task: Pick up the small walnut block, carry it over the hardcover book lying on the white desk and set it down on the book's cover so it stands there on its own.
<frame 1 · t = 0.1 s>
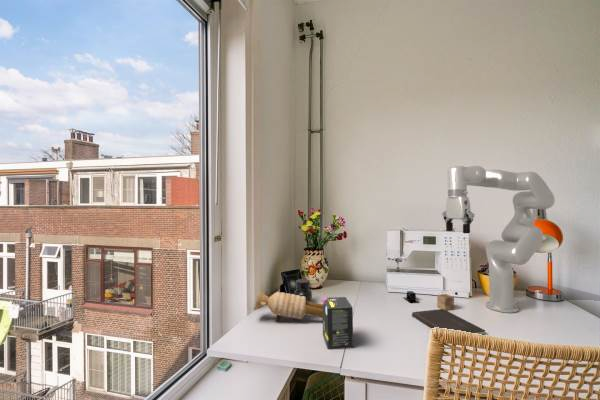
hand: (457, 232, 132), 37 cm above the table, tool pointing down, fingers open, 9 cm apart
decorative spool: (291, 321, 127), on the table
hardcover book: (445, 326, 121), on the table
ink bottle: (303, 305, 146), on the table
tampon box: (337, 342, 108), on the table
walnut block: (445, 308, 139), on the table
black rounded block: (411, 301, 151), on the table
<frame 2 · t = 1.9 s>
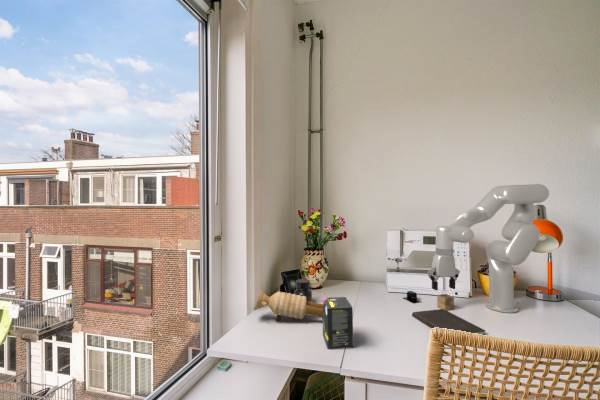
hand: (443, 288, 139), 9 cm above the table, tool pointing down, fingers open, 9 cm apart
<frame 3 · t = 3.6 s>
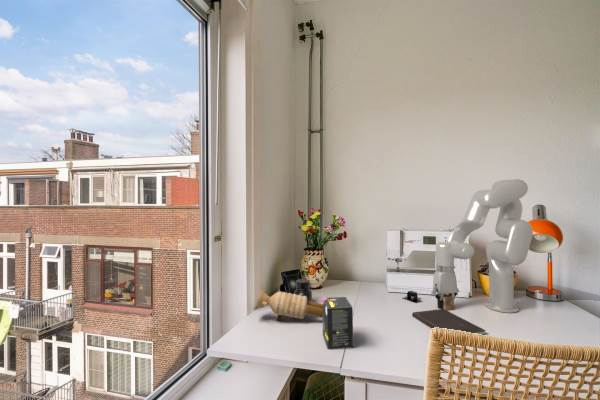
hand: (445, 307, 139), 1 cm above the table, tool pointing down, fingers closed on walnut block, 5 cm apart
walnut block: (445, 308, 139), on the table, touching gripper
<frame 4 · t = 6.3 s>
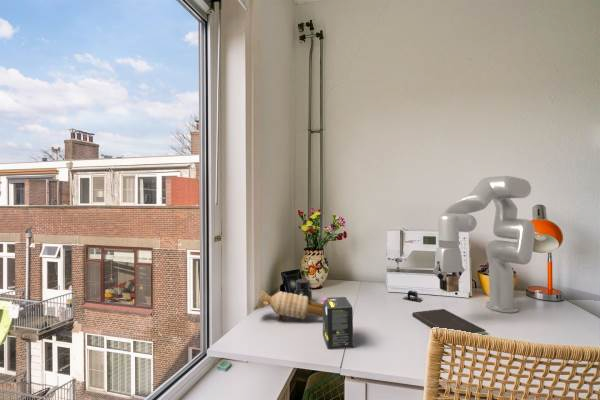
hand: (449, 288, 121), 15 cm above the table, tool pointing down, fingers closed on walnut block, 5 cm apart
walnut block: (449, 290, 121), point 14 cm above the table, touching gripper
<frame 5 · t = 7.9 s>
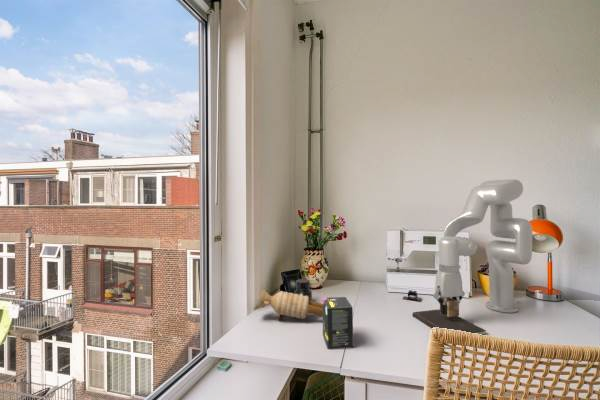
hand: (449, 312, 121), 5 cm above the table, tool pointing down, fingers closed on walnut block, 5 cm apart
walnut block: (449, 314, 121), point 4 cm above the table, touching gripper
when the fingers open (4 cm above the table, at t = 8.9 s): walnut block drops 2 cm, resting on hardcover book.
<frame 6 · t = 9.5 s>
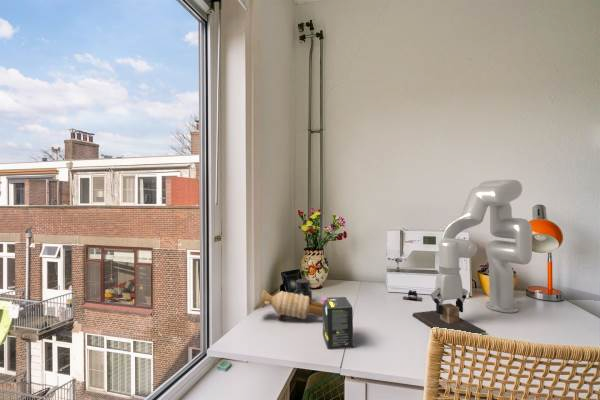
hand: (449, 312, 121), 5 cm above the table, tool pointing down, fingers open, 9 cm apart
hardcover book: (446, 327, 121), on the table, touching walnut block
walnut block: (449, 320, 121), point 1 cm above the table, touching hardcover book
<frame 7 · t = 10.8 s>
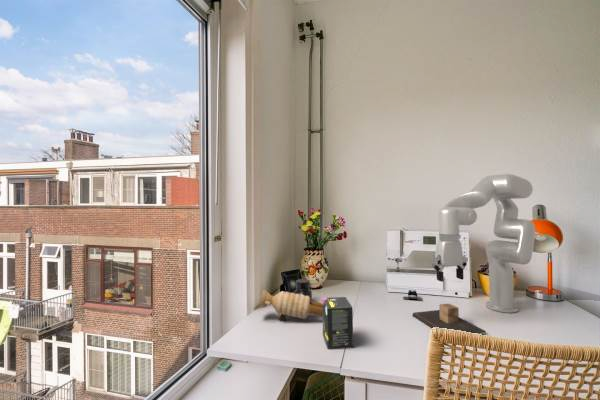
hand: (450, 279, 121), 18 cm above the table, tool pointing down, fingers open, 9 cm apart
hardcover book: (446, 327, 121), on the table
walnut block: (449, 320, 121), point 1 cm above the table
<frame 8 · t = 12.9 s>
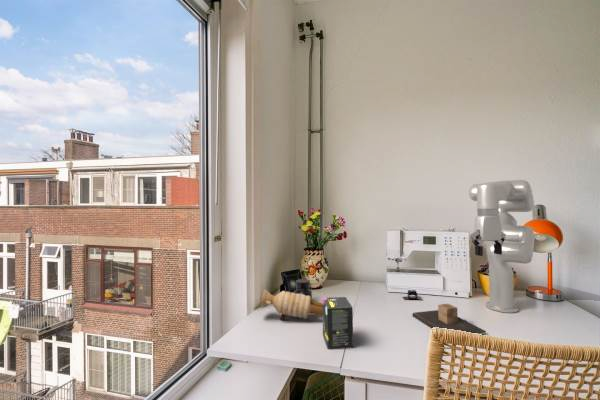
hand: (488, 254, 122), 28 cm above the table, tool pointing down, fingers open, 9 cm apart
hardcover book: (446, 327, 121), on the table, touching walnut block
walnut block: (447, 320, 121), point 1 cm above the table, touching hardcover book
at the end: walnut block inside the target area (0.9 cm from its centre), point 1.5 cm above the table; walnut block tilted 0°; walnut block touching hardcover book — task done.
